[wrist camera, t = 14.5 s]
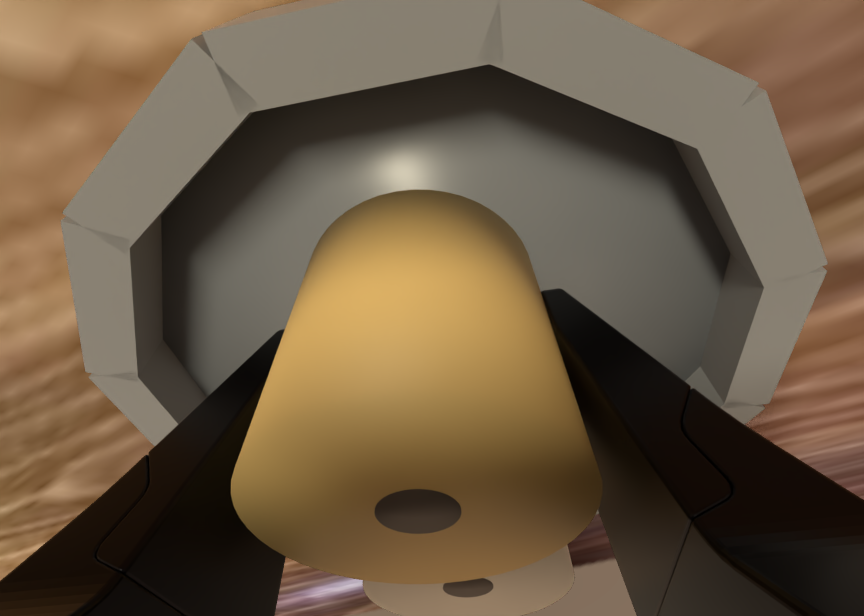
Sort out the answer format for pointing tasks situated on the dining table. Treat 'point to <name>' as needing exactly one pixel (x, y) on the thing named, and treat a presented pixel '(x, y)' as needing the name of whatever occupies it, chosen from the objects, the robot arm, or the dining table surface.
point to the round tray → (441, 187)
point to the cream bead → (481, 592)
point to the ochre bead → (417, 405)
